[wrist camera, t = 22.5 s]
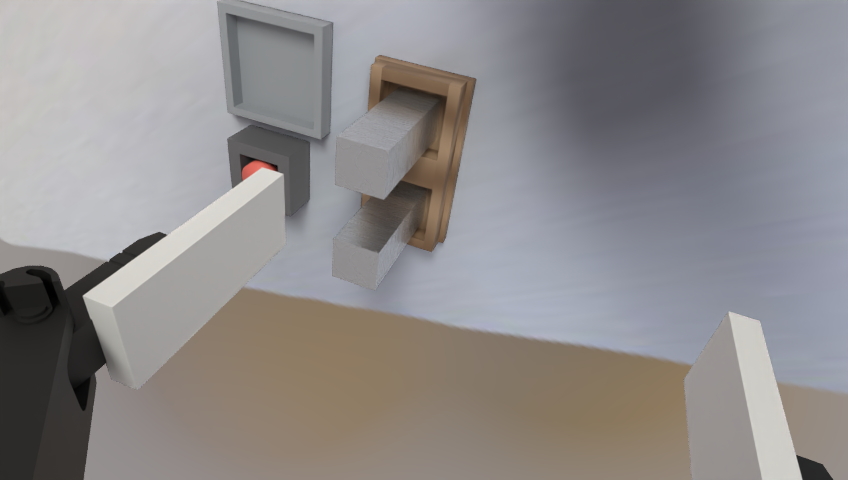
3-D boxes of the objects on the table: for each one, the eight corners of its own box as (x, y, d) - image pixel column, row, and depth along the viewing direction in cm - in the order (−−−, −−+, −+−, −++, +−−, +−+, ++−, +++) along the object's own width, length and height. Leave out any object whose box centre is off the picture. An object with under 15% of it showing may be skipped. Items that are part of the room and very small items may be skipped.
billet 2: (390, 175, 52) (333, 238, 42) (428, 186, 51) (378, 253, 41) (386, 209, 54) (332, 275, 45) (422, 220, 53) (375, 290, 44)
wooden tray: (379, 55, 47) (365, 63, 44) (476, 78, 45) (466, 89, 42) (367, 213, 56) (355, 227, 54) (445, 238, 55) (436, 253, 52)
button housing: (250, 124, 55) (227, 138, 52) (309, 141, 54) (288, 157, 51) (254, 181, 60) (233, 197, 56) (309, 199, 58) (290, 216, 55)
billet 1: (399, 86, 46) (336, 136, 37) (441, 97, 46) (388, 150, 36) (394, 128, 49) (335, 184, 39) (435, 139, 48) (383, 199, 39)
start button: (249, 154, 54) (240, 160, 53) (280, 163, 53) (271, 169, 52) (251, 184, 56) (243, 190, 55) (281, 193, 55) (273, 200, 54)
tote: (230, -2, 48) (217, 1, 47) (333, 22, 46) (322, 26, 45) (239, 106, 55) (227, 112, 53) (330, 132, 53) (320, 139, 51)
